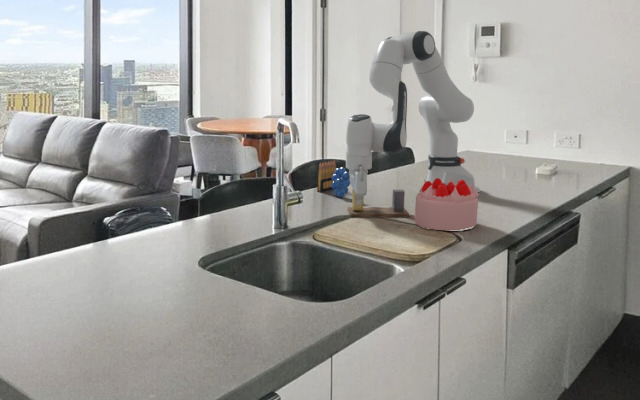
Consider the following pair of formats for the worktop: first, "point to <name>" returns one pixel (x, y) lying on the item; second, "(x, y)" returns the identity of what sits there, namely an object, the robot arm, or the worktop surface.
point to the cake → (446, 205)
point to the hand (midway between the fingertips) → (357, 202)
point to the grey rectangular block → (398, 200)
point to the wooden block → (354, 205)
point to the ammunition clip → (326, 176)
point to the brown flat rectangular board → (377, 212)
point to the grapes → (340, 182)
